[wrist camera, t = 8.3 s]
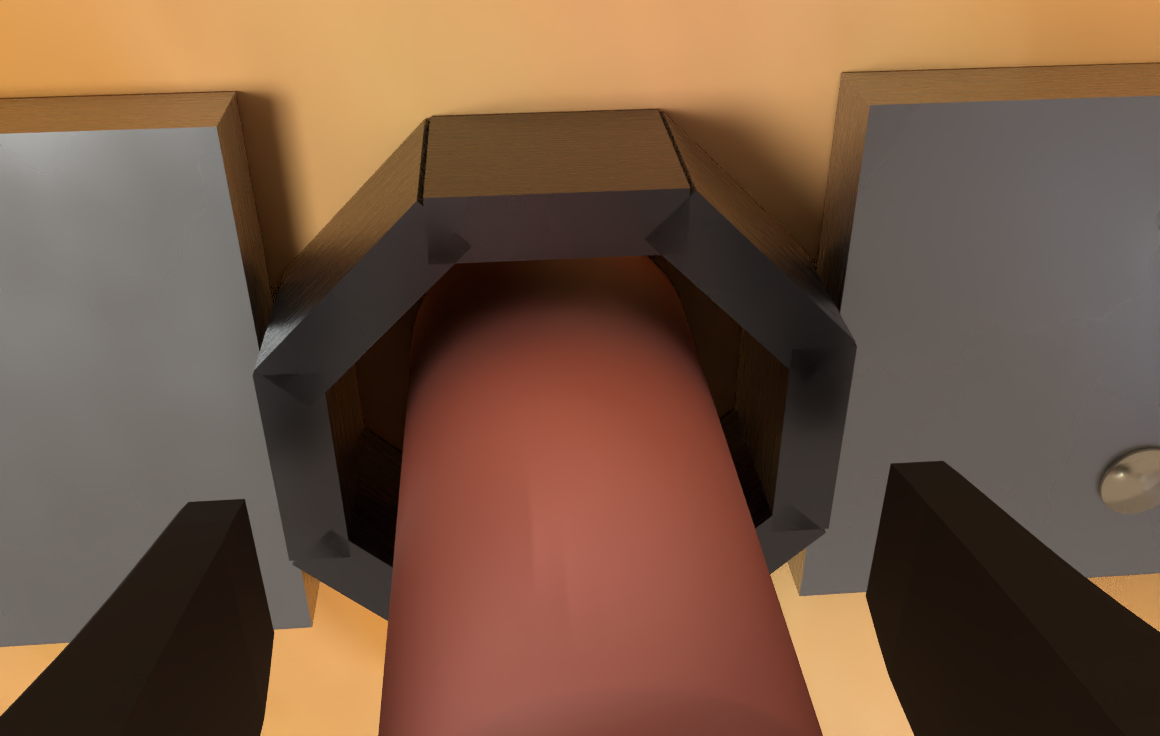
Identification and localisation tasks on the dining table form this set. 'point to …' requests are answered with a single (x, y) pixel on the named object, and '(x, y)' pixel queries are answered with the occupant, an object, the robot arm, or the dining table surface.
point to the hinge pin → (575, 522)
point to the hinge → (568, 231)
